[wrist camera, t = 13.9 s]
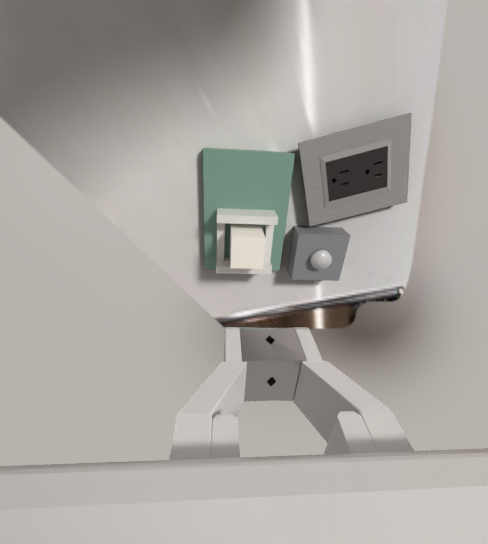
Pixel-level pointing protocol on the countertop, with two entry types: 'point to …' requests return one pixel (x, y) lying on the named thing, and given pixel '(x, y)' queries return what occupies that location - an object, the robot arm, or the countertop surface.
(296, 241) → the grey push button
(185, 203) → the countertop surface
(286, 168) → the board
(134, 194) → the countertop surface
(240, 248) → the plug
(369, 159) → the electrical outlet
